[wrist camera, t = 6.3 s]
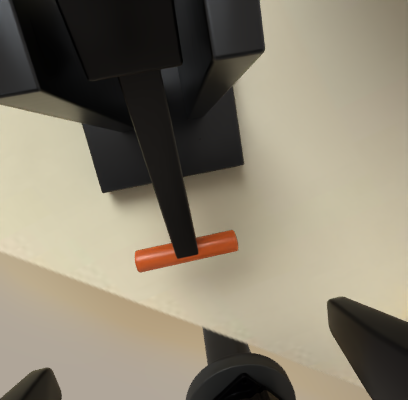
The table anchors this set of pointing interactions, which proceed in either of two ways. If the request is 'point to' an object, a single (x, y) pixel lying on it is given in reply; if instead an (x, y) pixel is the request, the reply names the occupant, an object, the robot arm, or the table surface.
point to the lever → (144, 107)
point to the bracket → (112, 93)
